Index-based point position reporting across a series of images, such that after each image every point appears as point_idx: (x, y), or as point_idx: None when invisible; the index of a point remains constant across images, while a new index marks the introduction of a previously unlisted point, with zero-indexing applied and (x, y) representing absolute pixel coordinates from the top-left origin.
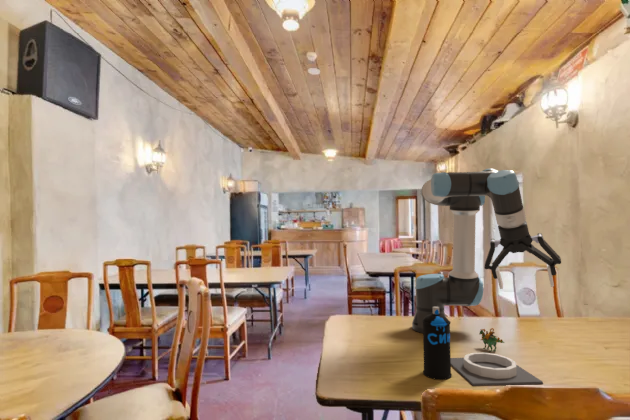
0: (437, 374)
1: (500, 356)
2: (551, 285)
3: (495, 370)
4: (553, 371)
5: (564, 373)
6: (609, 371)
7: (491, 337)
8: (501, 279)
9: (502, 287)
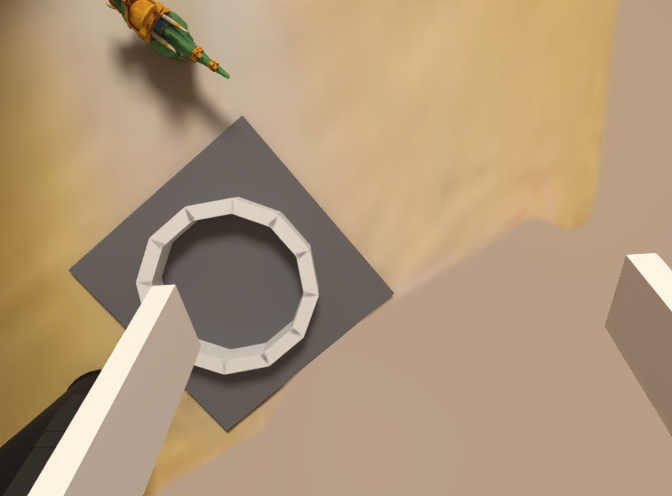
0: None
1: (248, 217)
2: (617, 337)
3: (268, 365)
4: (411, 153)
5: (443, 151)
6: (573, 31)
7: (161, 36)
8: (157, 355)
9: (195, 348)
